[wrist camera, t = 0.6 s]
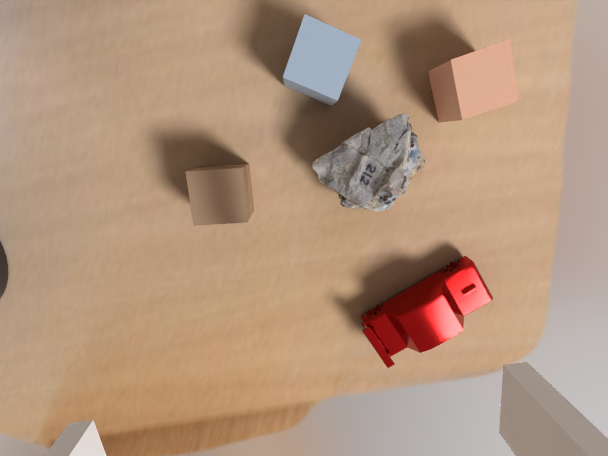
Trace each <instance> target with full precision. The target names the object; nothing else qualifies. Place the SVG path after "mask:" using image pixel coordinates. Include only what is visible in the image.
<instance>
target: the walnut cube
mask: <svg viewBox="0 0 608 456" xmlns="http://www.w3.org/2000/svg"><path fill="white" fill-rule="evenodd" d="M185 173H186V179H187V186H188V192H189V199H190V205H191V212H192V218H193V225H210V224H226V223H242V222H248V220H249V218H250V217H251V215H252V213H253V212H254V207H253V197H252V187H251V178H250V168H249V164H236V165H220V166H204V167H198V168H195V169H192V170H188V171H185Z"/></svg>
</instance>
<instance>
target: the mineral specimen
mask: <svg viewBox="0 0 608 456" xmlns="http://www.w3.org/2000/svg"><path fill="white" fill-rule="evenodd" d="M408 119H409V115H406V114H400V115H398V116H396V117H393V118H391V119H389V120H387V121H385V122H383V123H381V124H380V125H378V126H376V127H374V128H373V129H371V128H370V127H368V128H366V129H365V130H363V131H361V132H359V133H357V134H355V135H353V136H352V137H350V138H348V139H346V140H344V141H343V142H342V144H341V145H340V146H338V147H337V148H335V149H334V150H333V151H330V152H328V153H326V154H325V155H322V156H321V157H320V158H318V159H316V160H315V161H313V165H312V168H313V169H314V170H315V171H316V172H317V173H318V178H319V181H320V182H321V183H323V184H325V185H326V186H328V187H330V188H331V189H333V190H334V191H336V192H337V193H338V194H339V198H340V199H341V205H342V206H344V207H347V208H350V209H351V208H364V209H370V210H372V211H376V212H379V211H382V210H386V209H389V208H390V206H392V204H393V203H394V200H395V199H397V197H399V196H400V195H401V194H404V193H405V192H406V190H407V186H408V183H410V182H411V179H412V177H413V176H414V175H415V173H416V172H418V171H420V170H421V169H422V168H423V167H424V164H425V160H424V156H423V155H422V154H421V152H420V149H419V147H418V141H417V135H416V134H415V133H414V132H412V127H411V125H410V124H409V123H408Z"/></svg>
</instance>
